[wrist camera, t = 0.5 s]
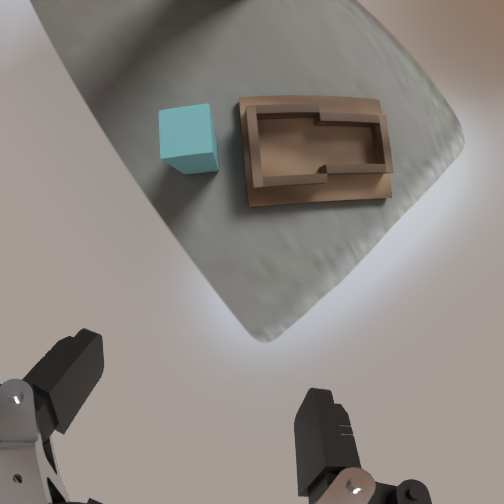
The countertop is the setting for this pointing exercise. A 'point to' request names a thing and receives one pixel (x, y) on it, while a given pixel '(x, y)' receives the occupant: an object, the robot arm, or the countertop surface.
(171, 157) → the post
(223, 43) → the countertop surface
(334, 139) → the keyhole board
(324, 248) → the countertop surface
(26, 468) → the robot arm
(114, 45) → the countertop surface
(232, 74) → the countertop surface
